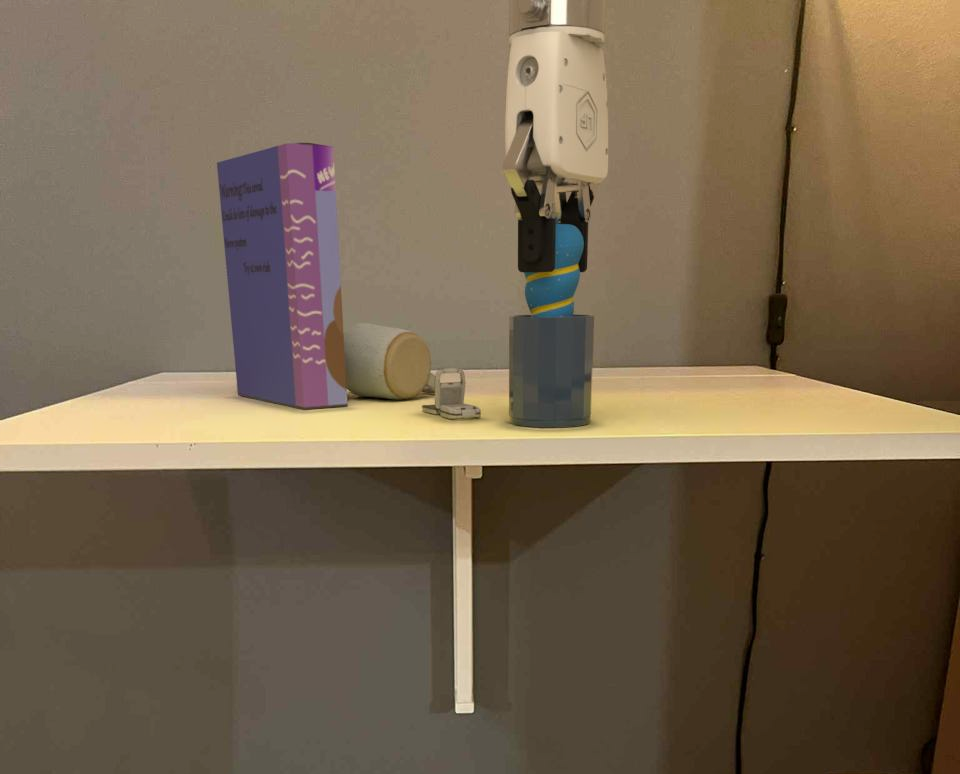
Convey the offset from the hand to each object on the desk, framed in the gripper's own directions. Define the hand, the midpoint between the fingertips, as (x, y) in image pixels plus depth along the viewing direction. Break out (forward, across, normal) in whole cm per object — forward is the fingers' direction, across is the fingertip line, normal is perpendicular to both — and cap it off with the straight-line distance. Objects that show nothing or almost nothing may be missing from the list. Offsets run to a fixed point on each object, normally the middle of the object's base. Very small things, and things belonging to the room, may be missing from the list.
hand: (553, 269), depth 83 cm
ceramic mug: (+13, +10, +25) cm, 30 cm away
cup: (+13, 0, 0) cm, 13 cm away
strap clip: (+13, 0, +11) cm, 17 cm away
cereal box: (+13, +2, +33) cm, 35 cm away
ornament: (+10, 0, 0) cm, 10 cm away
